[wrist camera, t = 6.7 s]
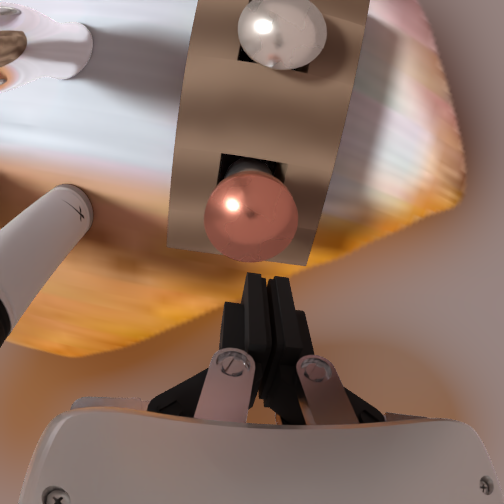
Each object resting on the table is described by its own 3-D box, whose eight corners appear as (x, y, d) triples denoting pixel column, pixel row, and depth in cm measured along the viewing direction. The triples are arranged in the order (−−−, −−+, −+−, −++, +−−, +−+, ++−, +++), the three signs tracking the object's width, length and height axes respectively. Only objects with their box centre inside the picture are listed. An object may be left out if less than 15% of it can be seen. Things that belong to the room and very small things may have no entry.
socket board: (215, -22, 20) (209, -45, 15) (347, 4, 21) (371, -11, 16) (178, 218, 32) (166, 247, 26) (295, 234, 33) (305, 266, 28)
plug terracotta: (219, 142, 24) (210, 169, 17) (288, 154, 25) (308, 185, 18) (210, 206, 27) (199, 255, 20) (275, 216, 28) (286, 267, 21)
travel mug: (99, 190, 30) (-21, 318, 12) (89, 243, 33) (-2, 381, 15) (51, 173, 28) (-82, 278, 11) (45, 225, 31) (-59, 344, 14)
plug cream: (245, 11, 22) (246, -16, 14) (308, 23, 22) (333, 3, 15) (234, 67, 24) (230, 61, 17) (297, 79, 25) (318, 78, 18)
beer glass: (65, 8, 20) (-38, -13, 7) (111, 36, 22) (11, 17, 9) (29, 65, 22) (-78, 80, 9) (71, 96, 25) (-37, 123, 12)
